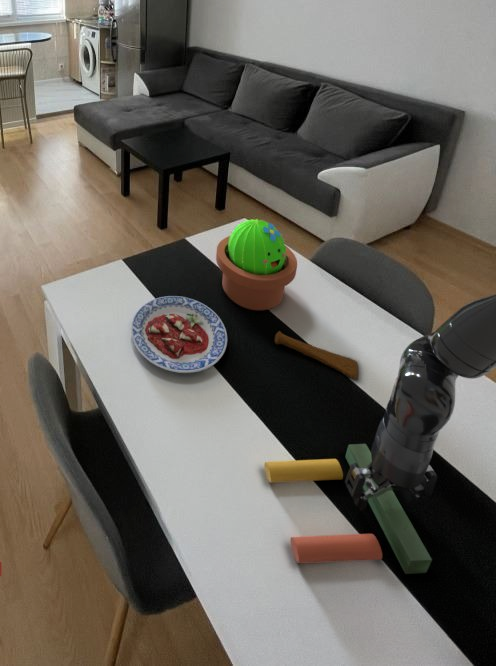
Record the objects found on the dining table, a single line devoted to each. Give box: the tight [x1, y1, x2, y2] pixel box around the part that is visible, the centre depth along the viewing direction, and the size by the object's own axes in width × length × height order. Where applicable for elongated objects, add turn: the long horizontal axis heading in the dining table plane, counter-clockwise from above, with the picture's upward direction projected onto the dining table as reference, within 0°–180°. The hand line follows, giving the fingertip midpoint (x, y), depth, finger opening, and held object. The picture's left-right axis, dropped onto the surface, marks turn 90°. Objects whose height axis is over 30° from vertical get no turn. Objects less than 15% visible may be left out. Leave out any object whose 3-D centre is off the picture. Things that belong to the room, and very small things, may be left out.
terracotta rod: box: [289, 533, 383, 564], centre depth 73 cm, size 14×3×3 cm, turn 91°
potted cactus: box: [215, 217, 298, 311], centre depth 127 cm, size 22×22×25 cm
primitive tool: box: [274, 330, 359, 379], centre depth 109 cm, size 19×6×4 cm, turn 62°
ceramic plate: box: [130, 295, 228, 374], centre depth 117 cm, size 26×26×3 cm
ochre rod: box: [264, 458, 344, 484], centre depth 84 cm, size 14×3×3 cm, turn 91°
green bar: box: [345, 443, 433, 575], centre depth 78 cm, size 4×18×4 cm, turn 1°
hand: (381, 504), depth 79 cm, fingers open, 8 cm apart
